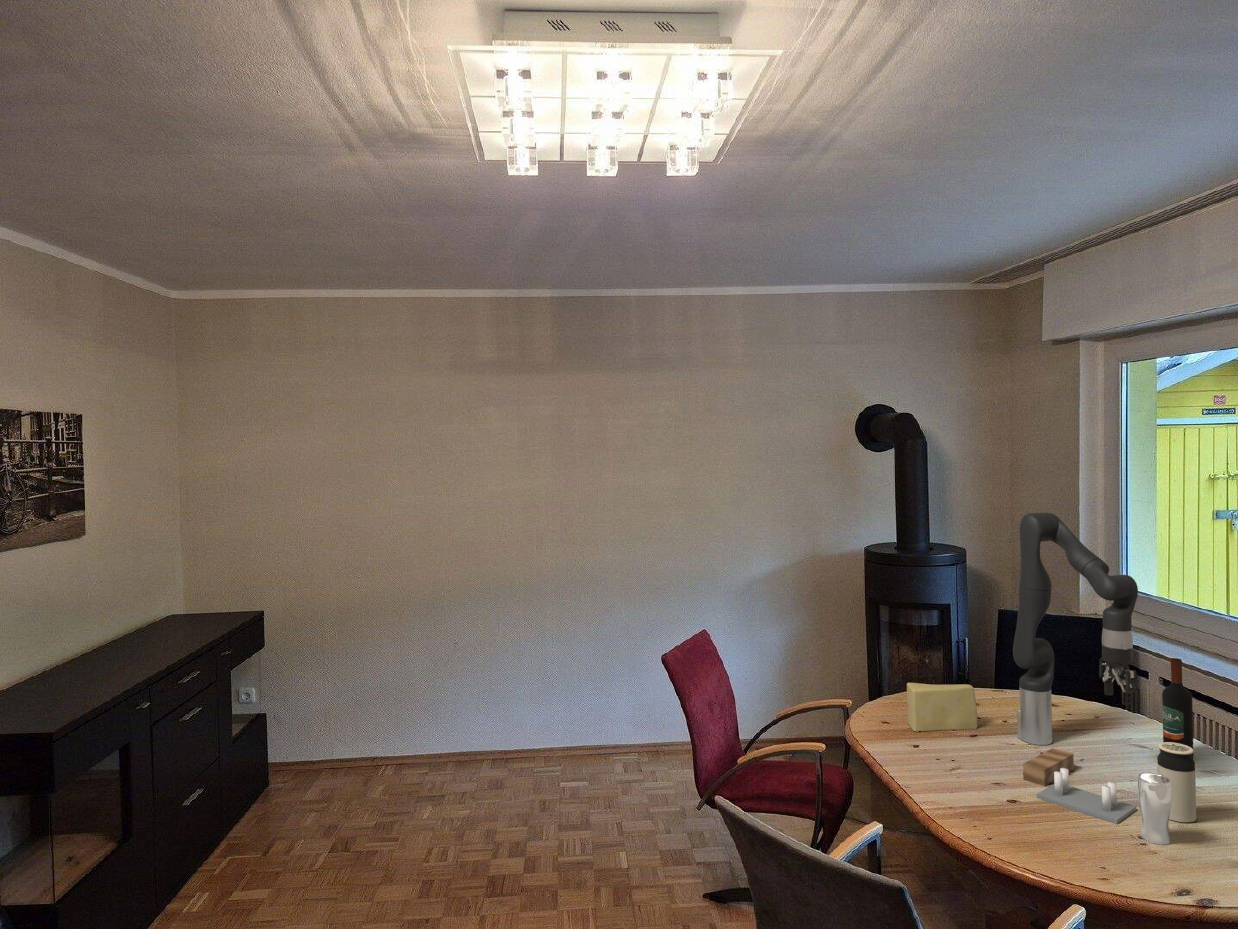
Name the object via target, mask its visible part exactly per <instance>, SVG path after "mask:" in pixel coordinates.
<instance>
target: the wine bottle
mask: <svg viewBox="0 0 1238 929" xmlns="http://www.w3.org/2000/svg"><path fill="white" fill-rule="evenodd" d="M1170 679H1171V680H1170V684H1169V685H1168V686H1166V687H1165V688H1163V690H1162V694H1161V703H1162V704H1161V705H1162V710H1161V711H1162V743H1163V742H1173V743H1179V744H1183V745H1186V746H1189V747H1191V748H1192V749H1193V750H1194V718H1193V715H1194V712H1193V709H1194V708H1193V695H1192V693H1191V692H1190V690H1188V689H1187V688H1186V687H1184V685H1183V660H1182V659H1181V658H1176V657H1174V658H1173V657H1172V658H1170ZM1194 754H1195V751H1194V752H1193V753H1192V758H1194V757H1195V756H1194Z"/></svg>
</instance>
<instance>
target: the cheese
mask: <svg viewBox="0 0 1238 929" xmlns="http://www.w3.org/2000/svg"><path fill="white" fill-rule="evenodd" d="M906 703H907V708H906V709H907V710H906V711H907V723H908V726H910V729H911V730H912V731H913V732H914V731H915V733H917V732H918V733H920V732H919V731H921V732H932V731H933V732H934V731H935V732H937V731H965V730H966V731H967V730H968V731H969V730H976V729H977V728H978V708H977V707H978V706H977V705H978V704H977V700H976V693H975V688H974V687H973V686H972V685H971V684H968V683H967V684H966V683H964V684H930V683H928V684H927V683H918V682H907V683H906Z"/></svg>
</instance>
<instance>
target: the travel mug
mask: <svg viewBox="0 0 1238 929" xmlns="http://www.w3.org/2000/svg"><path fill="white" fill-rule="evenodd" d="M1157 747H1158V748H1159V753H1158V755H1157V758H1156V759H1157V774H1159V775H1163V776H1165V777H1167V778H1169V779H1170V781H1171V791H1172V807H1171V813H1170V818H1169V821H1170V820H1171V821H1173V822H1177V823H1193V822H1195V821H1196V820H1197V793H1196V792H1197V789H1196V787H1197V785H1196V783H1197V782H1196V762H1195V760H1193V758H1192V753H1193V752H1194V753H1195V751H1194V748H1193V749H1192V748H1191V747H1189V746H1186V745H1183V744H1179V743H1173V742H1163V741H1162V742H1159V743H1158V745H1157Z"/></svg>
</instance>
